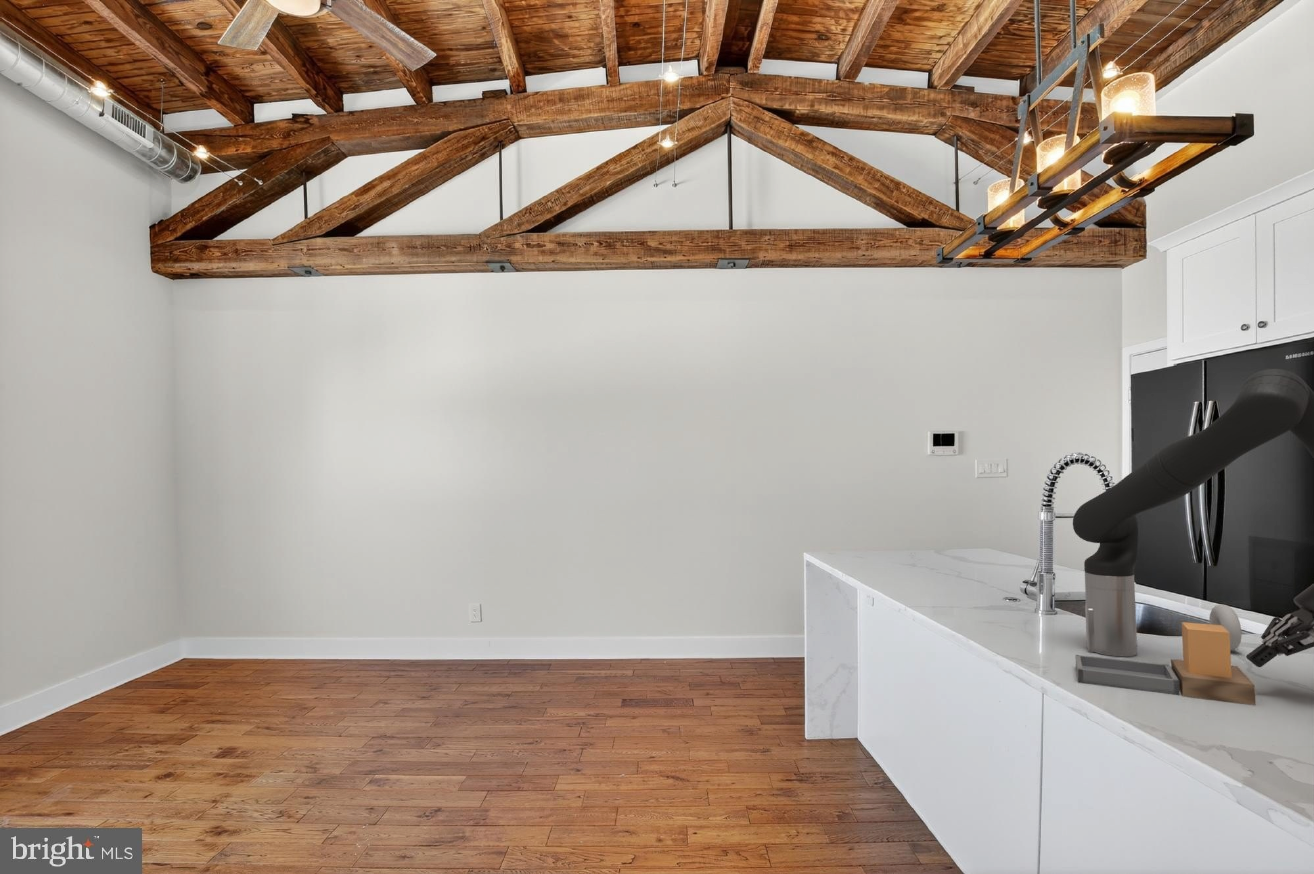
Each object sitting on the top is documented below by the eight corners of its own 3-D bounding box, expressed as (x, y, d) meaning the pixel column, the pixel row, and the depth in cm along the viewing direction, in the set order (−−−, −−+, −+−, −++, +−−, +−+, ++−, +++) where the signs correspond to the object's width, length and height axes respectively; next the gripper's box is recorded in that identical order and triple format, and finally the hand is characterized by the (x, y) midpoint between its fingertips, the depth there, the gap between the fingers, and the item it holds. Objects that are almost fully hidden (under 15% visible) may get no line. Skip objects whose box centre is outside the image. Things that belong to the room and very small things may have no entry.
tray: (1078, 682, 130) (1078, 669, 130) (1075, 666, 140) (1075, 654, 140) (1179, 694, 122) (1179, 680, 122) (1169, 677, 132) (1169, 664, 132)
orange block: (1189, 672, 124) (1187, 628, 124) (1183, 664, 129) (1181, 621, 129) (1231, 677, 121) (1229, 632, 121) (1223, 668, 126) (1221, 625, 126)
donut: (1207, 643, 155) (1205, 599, 156) (1226, 644, 154) (1224, 600, 154) (1225, 655, 146) (1223, 608, 146) (1245, 656, 145) (1243, 609, 145)
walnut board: (1183, 696, 122) (1182, 676, 122) (1171, 677, 132) (1171, 659, 132) (1255, 705, 117) (1254, 684, 117) (1237, 684, 127) (1237, 665, 127)
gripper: (1381, 624, 110) (1287, 690, 115) (1339, 607, 122) (1256, 668, 127) (1336, 589, 113) (1246, 655, 117) (1300, 576, 125) (1220, 637, 129)
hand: (1251, 662), depth 122 cm, fingers closed
